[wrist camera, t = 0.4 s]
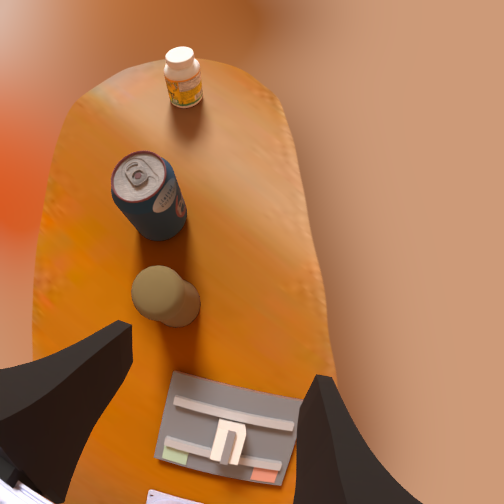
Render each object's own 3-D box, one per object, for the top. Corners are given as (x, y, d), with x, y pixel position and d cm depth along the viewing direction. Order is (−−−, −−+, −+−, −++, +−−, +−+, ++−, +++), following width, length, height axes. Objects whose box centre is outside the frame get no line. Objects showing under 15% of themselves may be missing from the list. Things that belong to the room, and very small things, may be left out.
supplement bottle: (206, 103, 45) (202, 59, 36) (173, 113, 44) (164, 70, 35) (198, 83, 46) (193, 40, 37) (167, 91, 45) (157, 49, 36)
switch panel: (279, 480, 32) (282, 489, 29) (156, 453, 32) (152, 460, 29) (303, 399, 35) (308, 403, 32) (175, 369, 35) (171, 372, 32)
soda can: (198, 222, 40) (185, 178, 28) (155, 254, 38) (125, 221, 27) (169, 185, 41) (150, 134, 29) (128, 215, 39) (94, 172, 28)
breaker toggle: (236, 452, 31) (237, 467, 26) (212, 446, 31) (209, 461, 26) (245, 423, 32) (246, 435, 28) (219, 417, 32) (217, 429, 28)
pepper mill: (210, 309, 37) (201, 299, 26) (170, 337, 36) (145, 338, 25) (182, 269, 38) (163, 244, 27) (143, 296, 37) (111, 281, 26)
